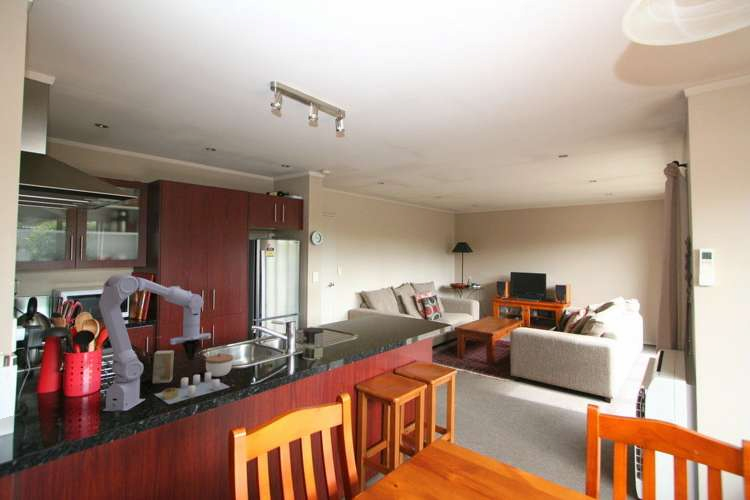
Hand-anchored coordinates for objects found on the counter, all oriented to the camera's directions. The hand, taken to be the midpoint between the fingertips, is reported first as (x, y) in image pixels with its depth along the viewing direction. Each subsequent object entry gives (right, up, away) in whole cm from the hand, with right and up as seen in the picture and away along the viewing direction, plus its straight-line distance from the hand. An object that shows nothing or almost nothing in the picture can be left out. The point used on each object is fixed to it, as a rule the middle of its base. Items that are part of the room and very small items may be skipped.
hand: (190, 359), depth 141 cm
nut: (-1, -10, -12) cm, 15 cm away
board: (+4, -10, -5) cm, 12 cm away
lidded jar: (+5, -11, +14) cm, 18 cm away
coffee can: (+40, -12, +44) cm, 61 cm away
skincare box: (-13, -10, +4) cm, 17 cm away
